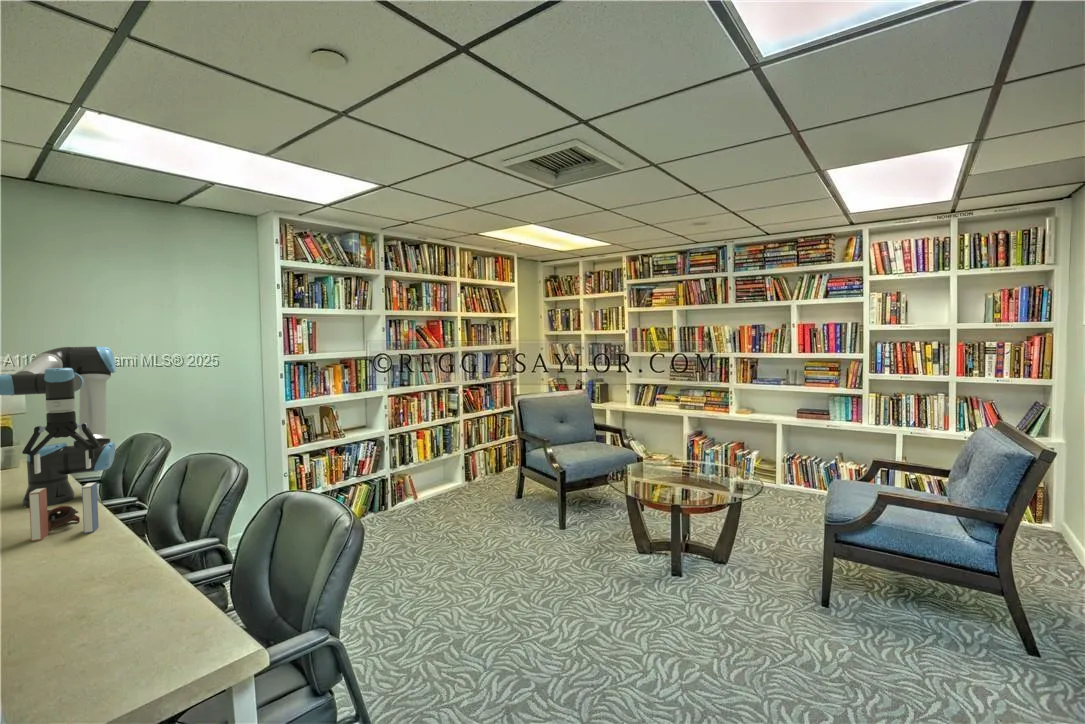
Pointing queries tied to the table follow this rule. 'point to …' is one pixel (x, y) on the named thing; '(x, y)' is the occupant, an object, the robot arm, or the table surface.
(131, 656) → the table surface
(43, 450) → the robot arm
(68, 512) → the pottery mug
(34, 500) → the brick red book
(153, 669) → the table surface
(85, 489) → the navy book
